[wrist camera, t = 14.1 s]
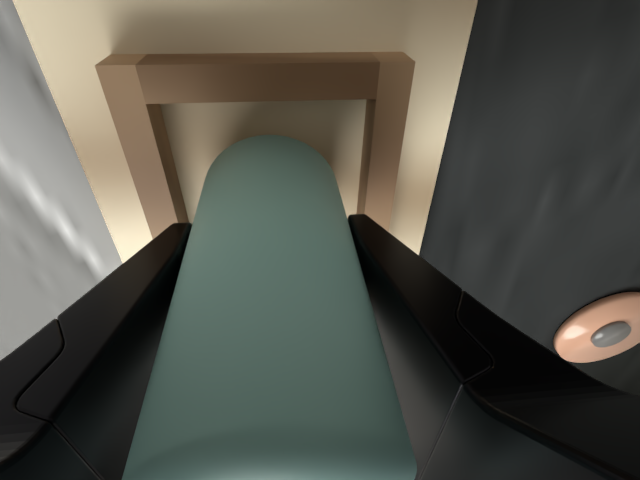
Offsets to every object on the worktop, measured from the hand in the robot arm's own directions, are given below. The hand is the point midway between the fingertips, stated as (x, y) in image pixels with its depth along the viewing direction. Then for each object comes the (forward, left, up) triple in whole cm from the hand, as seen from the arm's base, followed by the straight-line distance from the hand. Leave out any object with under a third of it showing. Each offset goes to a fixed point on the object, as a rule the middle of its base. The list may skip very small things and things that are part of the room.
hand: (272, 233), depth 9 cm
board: (0, 0, -3) cm, 3 cm away
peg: (0, 0, -2) cm, 2 cm away
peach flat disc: (-9, -16, -3) cm, 19 cm away
